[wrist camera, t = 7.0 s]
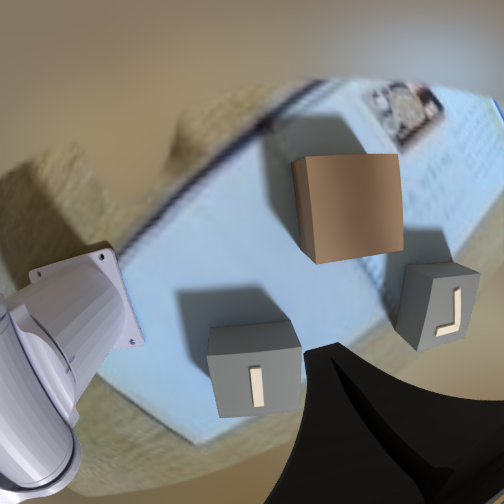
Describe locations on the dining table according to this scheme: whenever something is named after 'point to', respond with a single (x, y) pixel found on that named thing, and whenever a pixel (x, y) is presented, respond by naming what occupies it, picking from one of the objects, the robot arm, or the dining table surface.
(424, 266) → the slate block
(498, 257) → the dining table surface
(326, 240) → the walnut block
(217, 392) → the slate block
